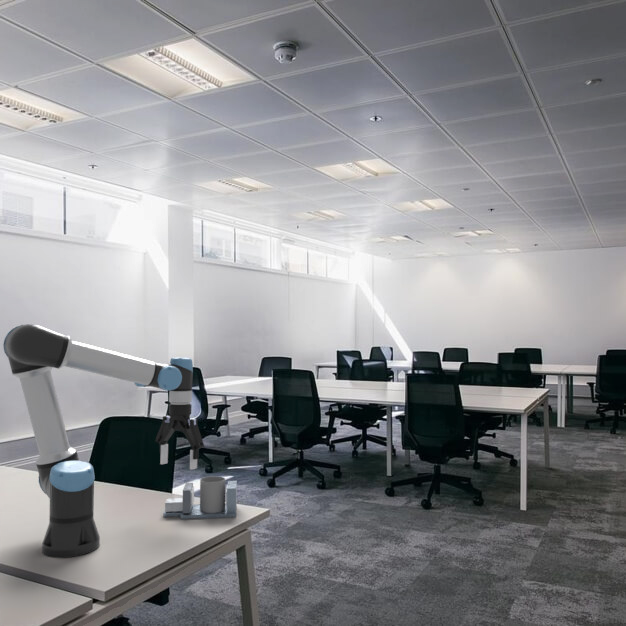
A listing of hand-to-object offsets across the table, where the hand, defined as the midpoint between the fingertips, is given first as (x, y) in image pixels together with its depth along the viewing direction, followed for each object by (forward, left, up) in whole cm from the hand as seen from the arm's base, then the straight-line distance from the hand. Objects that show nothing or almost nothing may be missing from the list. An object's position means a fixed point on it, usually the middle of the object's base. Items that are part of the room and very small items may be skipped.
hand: (178, 466), depth 199 cm
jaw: (0, 0, -14) cm, 14 cm away
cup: (0, -11, -15) cm, 19 cm away
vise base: (0, -7, -16) cm, 18 cm away
